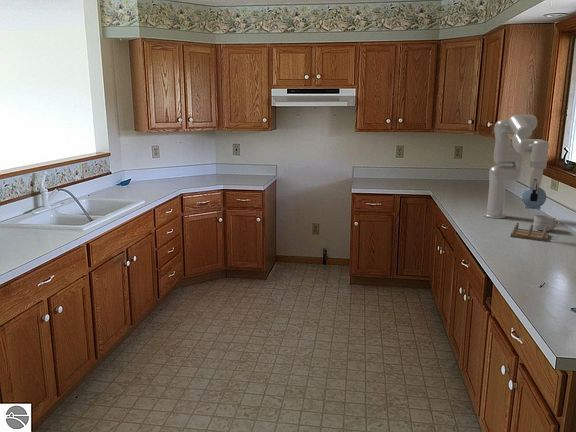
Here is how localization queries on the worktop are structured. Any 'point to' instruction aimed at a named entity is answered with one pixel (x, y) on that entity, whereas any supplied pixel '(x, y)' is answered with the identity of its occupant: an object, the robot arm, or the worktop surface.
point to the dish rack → (530, 233)
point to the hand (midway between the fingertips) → (533, 200)
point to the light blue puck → (534, 204)
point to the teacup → (545, 222)
